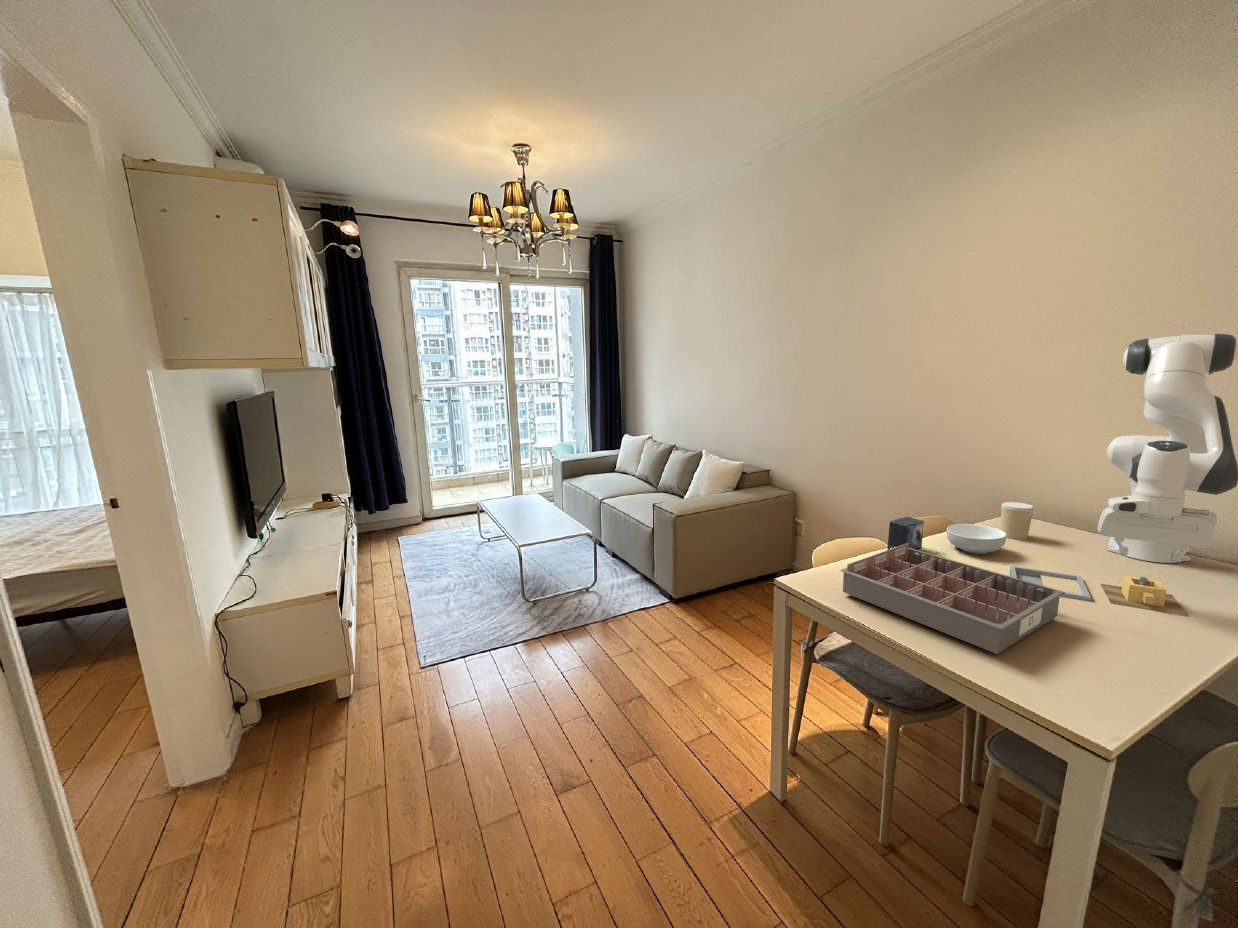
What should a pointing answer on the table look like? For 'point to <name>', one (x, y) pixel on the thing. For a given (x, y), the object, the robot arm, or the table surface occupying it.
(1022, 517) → the coffee cup
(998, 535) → the cereal bowl
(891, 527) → the small box
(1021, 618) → the organizer tray
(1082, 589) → the tray
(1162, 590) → the collar
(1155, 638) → the table surface
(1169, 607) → the board with post
